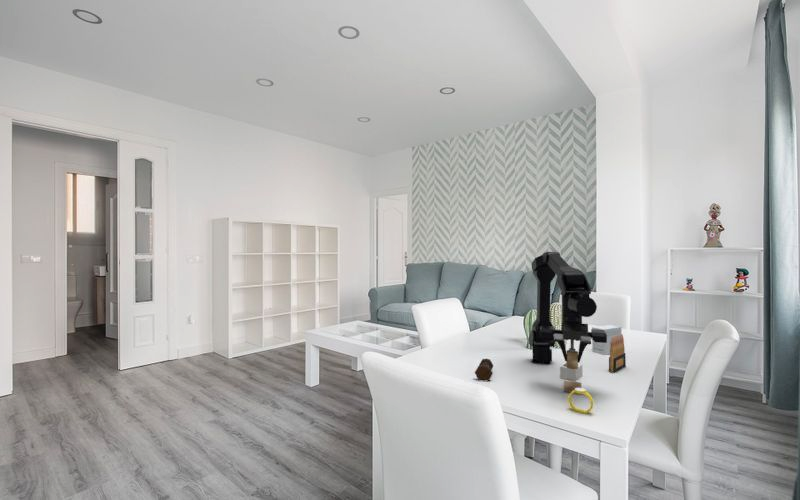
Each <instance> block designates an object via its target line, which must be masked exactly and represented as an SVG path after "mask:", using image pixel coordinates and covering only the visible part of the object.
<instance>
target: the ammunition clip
mask: <svg viewBox="0 0 800 500" xmlns="http://www.w3.org/2000/svg"><path fill="white" fill-rule="evenodd" d="M626 362H627V361H626V352H625V340H624V335H623V334H622V333H621V335H619V336H616V337H614V338H612V339H611V346H610V354H609V357H608V372H609V373H612V374H615V373H617V372H619V371H621V370H623V369H625V368H626V366H627V365H626V364H627V363H626Z"/></svg>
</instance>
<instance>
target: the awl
mask: <svg viewBox="0 0 800 500" xmlns="http://www.w3.org/2000/svg"><path fill="white" fill-rule="evenodd" d="M574 342H575V340H570V347H569V348H568V350H567V349H566V354H567V361H566V362H567V368H569V369H578V364H579V363H578V352H579V351H577V350H576V348H575V346H574V345H575V343H574Z"/></svg>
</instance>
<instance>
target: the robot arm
mask: <svg viewBox="0 0 800 500" xmlns="http://www.w3.org/2000/svg"><path fill="white" fill-rule="evenodd" d="M531 270H532V274H533V275H532V276H533V277H534V278H535V279H536V280H535V281H536V282H537V283H536V285H537V288H536V296H537V297H536V319H535V320H534V322H533V324H532V325H531V326H532V327H531V331H530V333H529V336H528V338H527V340H528V344H529V345H530V346H531V347H532V359H531V363H537V364H545V365H547V364H548V365H551V362H552V361H553V349H552V348H551V347H555V345H556V342H557V344H558V345H559V347H560V350H561V352H562V356H563V358H564V359H563V360H564V361H565V362H567V346H566V341H568V340H570V341H571V340H574V341H577V342H579V344H578V345H579V346H578V351H577V352H578V364H580V363H581V359H582V356H583V354H584V351H585V349H586V347H587V346H588V345H592V340H593V341H595V342H600V343H607V334H606V332H605V331H604V330H596V329H592V328H591V331H589V324H588V323H583V318H590V317H593V315H594V314H595V313H596V311H597V307H598V306H597V303H596V301H595V300H594V299H593V298H592V297H591V296H590V295H591V294H592V290H591V289H592V288H591V286H590V283H589V281H588V278H587V276H586V275H585V273H584V272H583V270H581V269H580V268H575V267H572V266H570V265H569V263H567V262H566V260H565V259H564V258H563V257H562V256H561V253H560V252H558V251H546V252H543V253H542V254H541V255H539V256H537V257H535V258H534V259H533V260H532V262H531ZM556 276H557V278H556V283H557V285H558V287H559V289H560V295H561V329H556V327H555V326H554V325H553V324H552V322H551V285H552V282H553V279H554V278H555V277H556Z"/></svg>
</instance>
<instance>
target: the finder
mask: <svg viewBox="0 0 800 500" xmlns="http://www.w3.org/2000/svg"><path fill="white" fill-rule="evenodd" d="M583 371H584V370H583V364H580V363H578V369H569V368H567V361H565V362H564V363H563V364H562V365H560V366H559V378H560V379H564V380H567V381H572V382H578V380H580V379H581V378H582V377H583Z"/></svg>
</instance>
